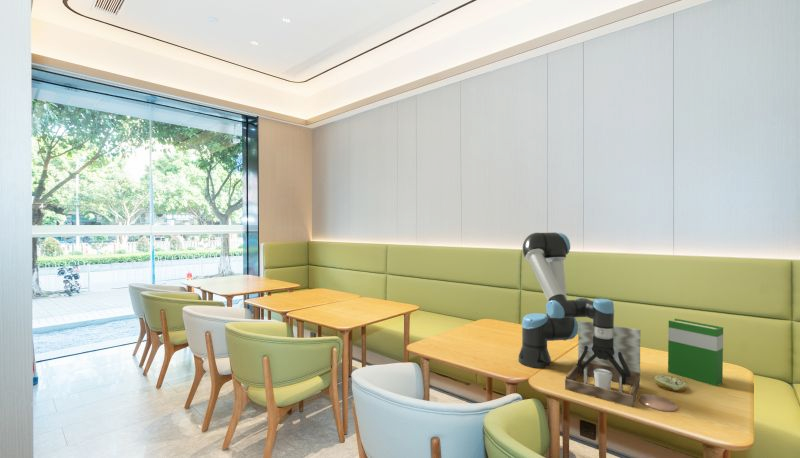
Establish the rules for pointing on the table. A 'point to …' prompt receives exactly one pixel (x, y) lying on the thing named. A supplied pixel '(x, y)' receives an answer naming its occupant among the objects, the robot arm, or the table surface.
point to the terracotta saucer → (657, 402)
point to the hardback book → (696, 351)
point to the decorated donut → (670, 383)
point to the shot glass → (602, 378)
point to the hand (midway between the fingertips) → (602, 387)
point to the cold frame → (608, 364)
